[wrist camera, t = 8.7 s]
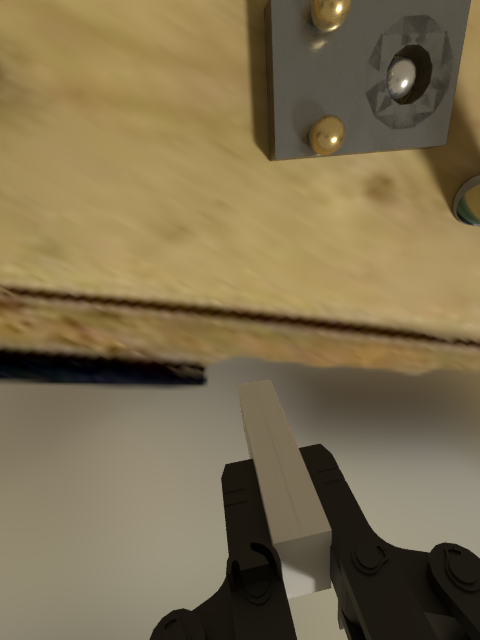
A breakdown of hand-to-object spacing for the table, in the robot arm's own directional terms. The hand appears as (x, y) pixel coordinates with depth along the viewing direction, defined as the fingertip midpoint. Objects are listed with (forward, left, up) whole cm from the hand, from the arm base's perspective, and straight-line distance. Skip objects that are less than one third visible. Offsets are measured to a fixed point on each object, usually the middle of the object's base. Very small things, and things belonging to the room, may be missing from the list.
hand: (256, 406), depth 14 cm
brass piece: (+11, +13, -20) cm, 26 cm away
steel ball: (+19, +17, -22) cm, 34 cm away
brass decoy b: (+11, +22, -20) cm, 32 cm away
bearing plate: (+16, +17, -24) cm, 34 cm away
